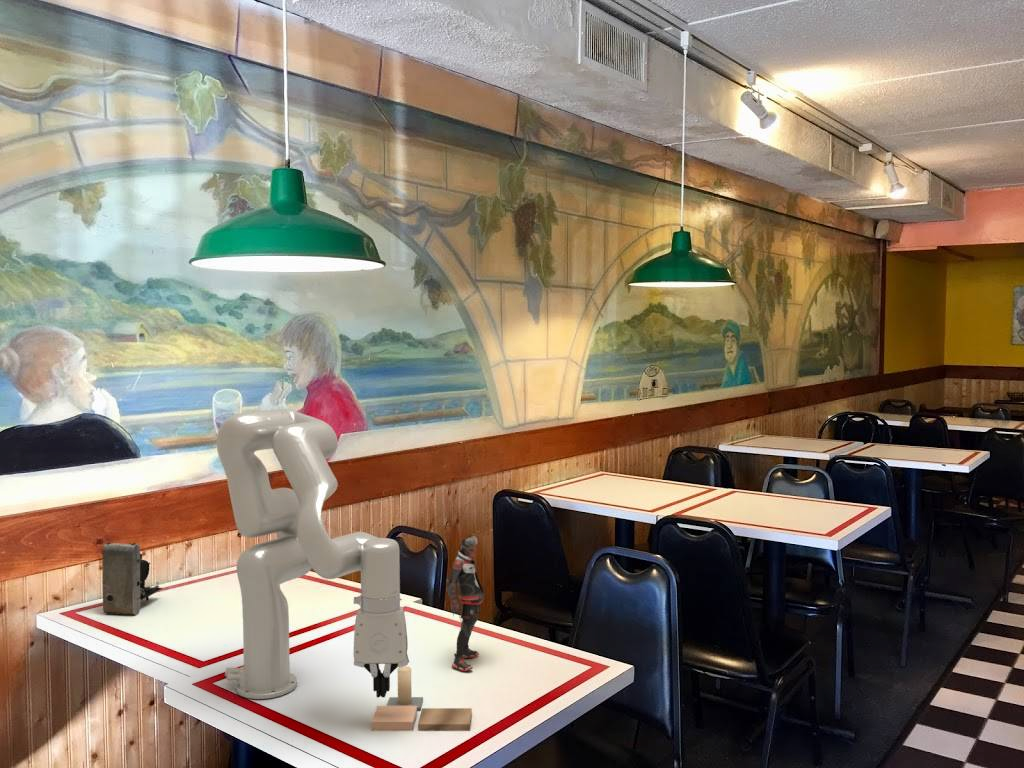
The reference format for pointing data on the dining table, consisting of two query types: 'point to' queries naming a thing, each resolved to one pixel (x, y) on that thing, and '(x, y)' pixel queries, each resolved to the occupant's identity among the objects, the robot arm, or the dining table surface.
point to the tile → (394, 718)
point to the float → (405, 691)
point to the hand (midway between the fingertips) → (381, 694)
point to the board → (445, 719)
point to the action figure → (465, 600)
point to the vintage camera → (124, 579)
